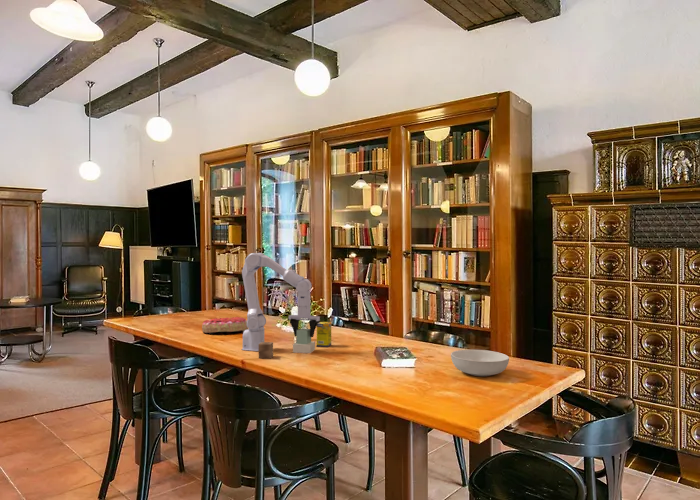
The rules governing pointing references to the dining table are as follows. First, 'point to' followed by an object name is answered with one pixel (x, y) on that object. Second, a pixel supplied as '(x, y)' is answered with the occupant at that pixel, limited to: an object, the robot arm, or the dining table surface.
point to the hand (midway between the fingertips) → (304, 336)
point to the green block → (303, 336)
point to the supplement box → (323, 334)
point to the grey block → (303, 348)
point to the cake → (224, 325)
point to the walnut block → (265, 350)
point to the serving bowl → (479, 362)
